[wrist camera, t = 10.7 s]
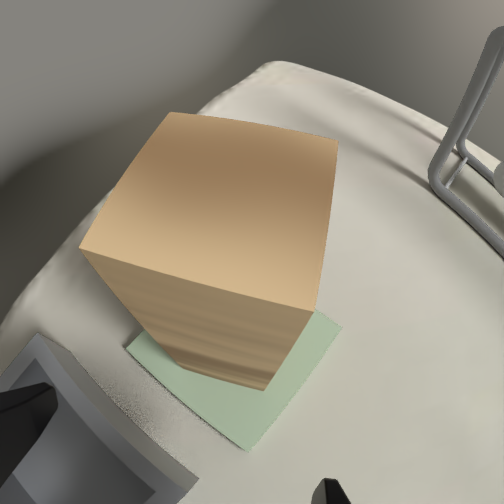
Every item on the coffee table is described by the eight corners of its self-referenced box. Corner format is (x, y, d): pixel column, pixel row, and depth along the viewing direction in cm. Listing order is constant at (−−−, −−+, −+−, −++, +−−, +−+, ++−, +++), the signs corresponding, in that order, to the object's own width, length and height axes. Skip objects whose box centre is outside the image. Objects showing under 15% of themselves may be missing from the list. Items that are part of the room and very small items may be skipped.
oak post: (263, 391, 16) (314, 311, 5) (182, 368, 16) (78, 247, 6) (282, 315, 18) (338, 141, 7) (207, 296, 19) (170, 112, 8)
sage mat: (247, 451, 14) (248, 452, 14) (129, 351, 17) (125, 348, 17) (339, 330, 18) (342, 327, 18) (224, 250, 21) (224, 246, 20)
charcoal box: (95, 570, 9) (68, 590, 5) (-11, 447, 12) (-48, 443, 9) (199, 478, 13) (187, 492, 10) (69, 351, 17) (37, 332, 13)
